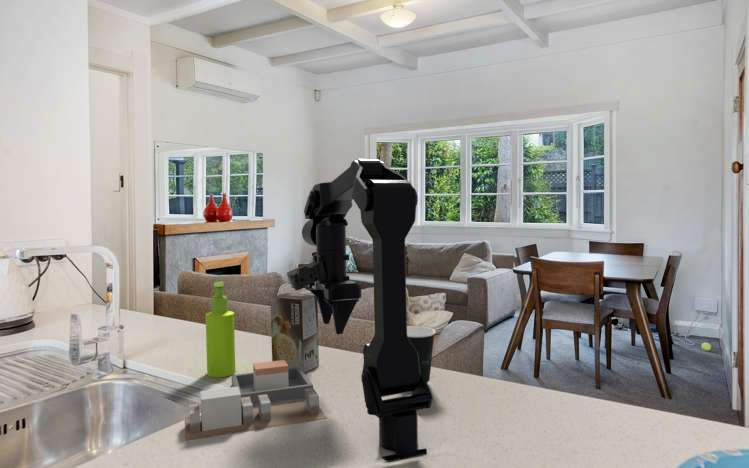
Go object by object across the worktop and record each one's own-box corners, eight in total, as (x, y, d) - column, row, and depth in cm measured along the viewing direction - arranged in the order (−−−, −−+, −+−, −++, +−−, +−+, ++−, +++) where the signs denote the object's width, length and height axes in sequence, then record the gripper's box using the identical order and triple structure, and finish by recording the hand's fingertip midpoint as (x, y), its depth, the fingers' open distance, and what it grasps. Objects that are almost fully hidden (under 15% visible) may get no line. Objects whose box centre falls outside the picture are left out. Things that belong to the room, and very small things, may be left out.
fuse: (241, 424, 83) (240, 394, 83) (202, 431, 81) (201, 399, 81) (239, 415, 87) (238, 386, 87) (201, 421, 85) (200, 391, 85)
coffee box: (320, 365, 118) (319, 294, 117) (304, 373, 112) (302, 299, 111) (287, 360, 122) (286, 292, 121) (270, 367, 116) (268, 296, 115)
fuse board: (327, 424, 86) (326, 400, 86) (185, 446, 78) (184, 421, 78) (314, 404, 94) (313, 382, 94) (185, 423, 87) (184, 400, 86)
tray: (313, 401, 96) (313, 385, 96) (237, 412, 91) (237, 395, 91) (300, 381, 107) (299, 366, 107) (231, 390, 102) (231, 375, 102)
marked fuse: (288, 391, 98) (288, 365, 98) (256, 396, 96) (255, 369, 96) (284, 384, 102) (284, 359, 102) (253, 388, 100) (253, 363, 100)
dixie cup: (438, 391, 100) (438, 335, 100) (397, 392, 100) (396, 335, 99) (433, 377, 108) (432, 325, 108) (395, 378, 108) (394, 326, 107)
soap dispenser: (206, 380, 108) (203, 285, 107) (207, 370, 115) (205, 280, 114) (235, 377, 110) (233, 283, 109) (235, 367, 116) (233, 279, 115)
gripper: (281, 247, 107) (282, 322, 108) (300, 255, 89) (302, 344, 90) (333, 245, 111) (334, 317, 111) (361, 252, 93) (363, 338, 94)
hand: (332, 328), depth 102 cm, fingers open, 9 cm apart
